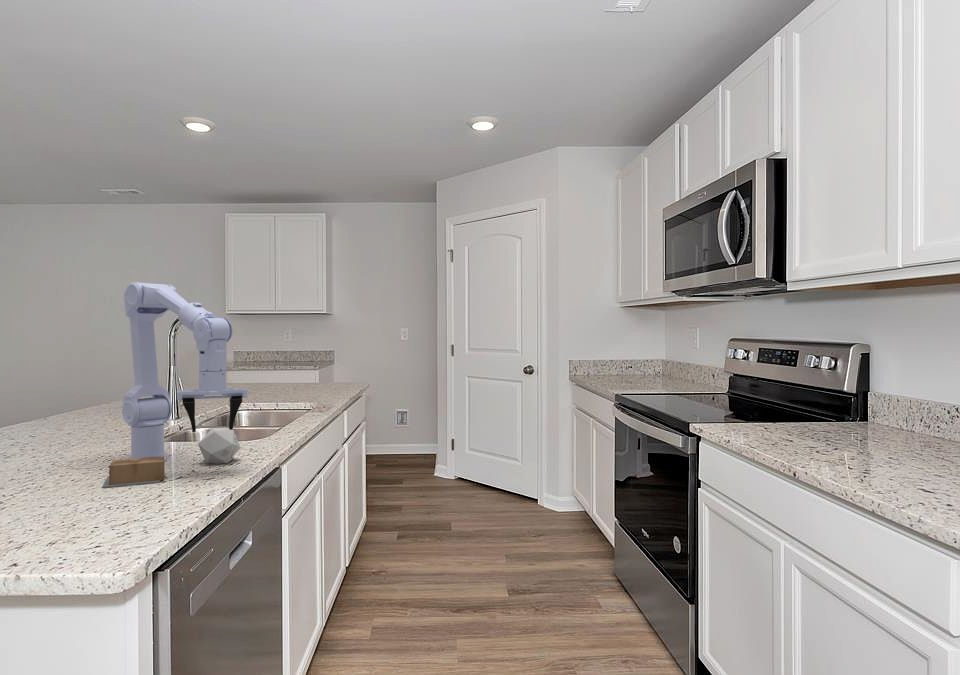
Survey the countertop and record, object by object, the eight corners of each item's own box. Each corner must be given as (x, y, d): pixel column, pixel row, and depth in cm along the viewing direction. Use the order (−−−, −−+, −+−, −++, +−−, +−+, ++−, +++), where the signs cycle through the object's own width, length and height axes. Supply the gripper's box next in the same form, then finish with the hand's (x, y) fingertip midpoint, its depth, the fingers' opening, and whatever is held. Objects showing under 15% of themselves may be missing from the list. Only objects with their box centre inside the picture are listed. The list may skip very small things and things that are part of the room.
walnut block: (164, 473, 133) (112, 478, 129) (164, 455, 133) (112, 460, 129) (163, 479, 128) (109, 485, 123) (163, 461, 128) (109, 465, 123)
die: (213, 470, 140) (240, 435, 143) (184, 450, 142) (212, 415, 145) (227, 475, 148) (252, 441, 151) (199, 455, 150) (225, 422, 153)
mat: (107, 478, 130) (107, 476, 130) (161, 473, 135) (161, 471, 135) (101, 488, 122) (101, 486, 122) (160, 482, 127) (160, 481, 127)
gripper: (176, 372, 128) (176, 435, 128) (248, 371, 134) (248, 430, 134) (177, 370, 134) (177, 430, 134) (245, 369, 140) (245, 425, 141)
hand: (212, 430), depth 135 cm, fingers open, 7 cm apart
